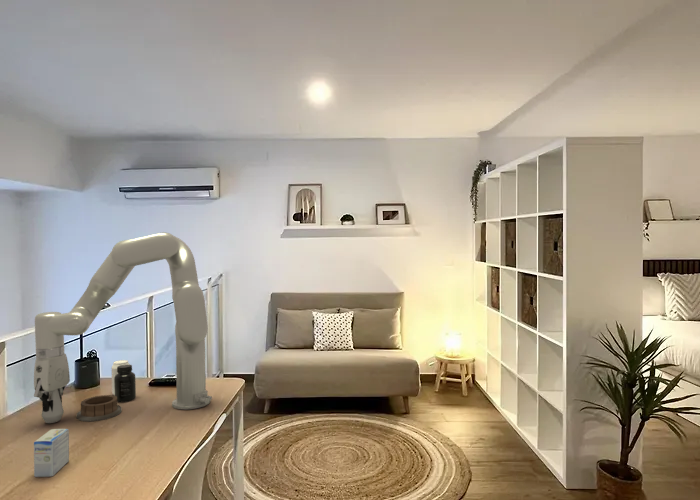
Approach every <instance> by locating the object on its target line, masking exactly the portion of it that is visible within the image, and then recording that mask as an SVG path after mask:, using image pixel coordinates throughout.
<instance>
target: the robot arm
mask: <svg viewBox="0 0 700 500" xmlns="http://www.w3.org/2000/svg"><path fill="white" fill-rule="evenodd" d="M111 249H112V250H111V251H110V253H109V254H108V255H107V257H106V258H105V260H104V261H103V262H102V263H101V264H100V266H99V268H98V269H97V270H96V271H95V273H94V274H93V276H92V277H91V278H90V281H89V283H88V285H87V287H86V289H85V291H84V292H83V293H82V295H81V297H80V298H79V299H78V300H77V302H76V303H75V305H74V306H73V308H71V310H70V311H69V312H63V313H62V312H59V311H47V312H40V313H38V314H36V315H35V317H34V336H35V338H34V339H35V341H34V342H35V362H34V368H33V371H34V372H33V389H34V393H33V397H35V398H38V399H39V400H40V402H41V403H42V404H41V406H42V407H41V408H42V409H43V411H44V412H48V411H49V408H50V407H51V411H53V400H51V399H52V391H54V390H56V389H58V392H59V396H60V399H61V403H62V404H63V397H62V396H63V395H64V390H65V388H66V387H67V386H68V385H69V384H70V380H71V379H70V367H69V360H68V357H67V353H65V336H79V335H82V334H85V333H86V331H88V330H89V328H90V326H91V325H92V324H93V322H94V321H95V319H96V318H97V316H99V313H100V312H101V311H102V309H103V308H104V307H105V305H106V304H107V303H108V302H109V300H110V299H112V297H114V295H115V294H116V293H117V292H118V290H119V289H120V287H122V284H123V283H124V281H125V280H126V279H127V277H128V276H129V275H130V274H131V272H132V271H133V269H134V268H135V267H136V266H141V265H146V264H149V263H153V262H159V261H162V260H166V261H167V264H168V266H169V273H170V280H171V290H172V293H171V294H172V296H171V298H172V301H173V302H172V303H173V307H174V308H173V309H174V314H175V316H174V317H175V325H174V329H175V330H174V332H175V334H174V335H175V359H176V360H175V365H176V368H175V370H176V371H175V374H176V375H175V376H176V398H175V399H173V400H172V402H171V407H172V408H174V409H176V410H184V411H185V410H195V409H200V408H203V407H206V406H207V405H209V404H210V403H211V401H212V400H213V397H212V396H211V395H208V390H207V389H206V387H207V386H206V384H207V383H206V379H207V378H206V341H205V340H206V337H207V335H208V327H209V326H208V319H207V318H208V317H207V309H206V300H205V294H204V292H203V290H202V288H201V287H200V285H199V279H198V271H197V266H196V261H195V260H196V259H195V257H194V254H193V252H192V250H191V249H190V247H189V246H188V245H187V244H186V242H184V241H183V240H182V239H180V238H179V237H177V236H175V235H173V234H172V233H169V232H164V231H163V232H157V233H153V234H150V235H145V236H140V237H136V238H132V239H131V238H130V239H124V240H120V241H119V242H117V243H115V244H114V246H113V248H111ZM45 393H47V395H46V394H45Z"/></svg>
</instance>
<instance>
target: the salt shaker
mask: <svg viewBox="0 0 700 500" xmlns="http://www.w3.org/2000/svg"><path fill="white" fill-rule="evenodd" d="M45 394H46V395H47V393H45ZM51 400H53V411H51V407H50V408H49V411H48V412H44V411H43V408H42V410H41V417H42V420H43V421H44V423H46V424H54V423H57V422H59V421H61V419H62V416H63V415H64V414H65V413H64V412H65V411H64V408H63V402H62V403H61V399H60V396H59V392H58V389H56V390H54V391H52V399H51Z"/></svg>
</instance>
